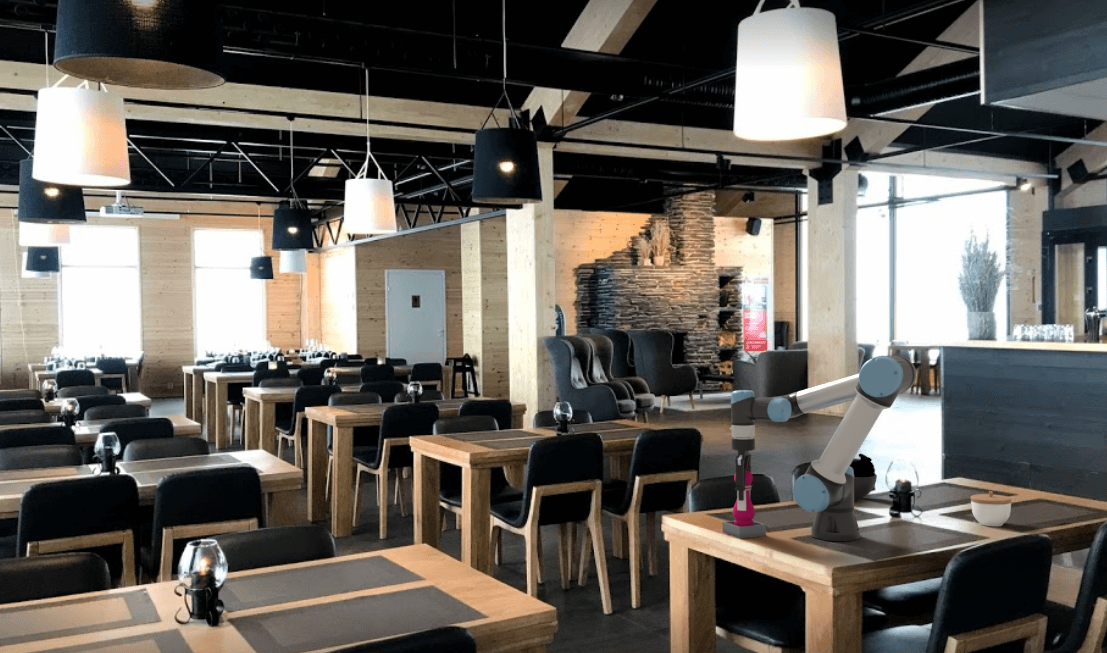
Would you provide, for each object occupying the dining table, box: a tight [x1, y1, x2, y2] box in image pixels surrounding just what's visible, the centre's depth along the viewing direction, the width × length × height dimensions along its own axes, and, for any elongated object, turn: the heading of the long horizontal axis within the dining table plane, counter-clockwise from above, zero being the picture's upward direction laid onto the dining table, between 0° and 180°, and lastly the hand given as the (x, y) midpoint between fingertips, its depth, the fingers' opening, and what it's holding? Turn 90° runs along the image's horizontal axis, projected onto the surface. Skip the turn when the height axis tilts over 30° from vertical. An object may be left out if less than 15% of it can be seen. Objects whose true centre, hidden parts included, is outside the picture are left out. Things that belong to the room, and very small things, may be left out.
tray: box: [722, 520, 767, 539], centre depth 326 cm, size 10×10×4 cm
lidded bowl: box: [970, 491, 1012, 527], centre depth 337 cm, size 13×13×11 cm
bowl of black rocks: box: [850, 453, 878, 501], centre depth 385 cm, size 20×20×19 cm
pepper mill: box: [732, 470, 756, 527], centre depth 326 cm, size 7×7×20 cm
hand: (743, 508), depth 326 cm, fingers closed on pepper mill, 6 cm apart
